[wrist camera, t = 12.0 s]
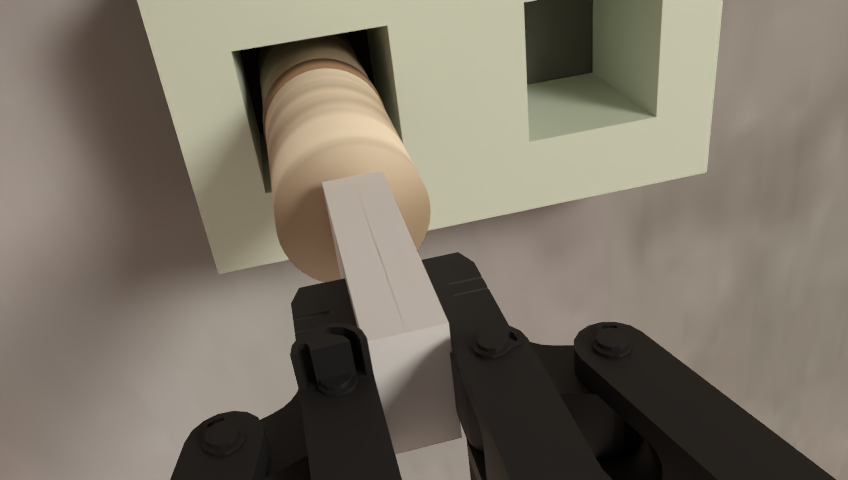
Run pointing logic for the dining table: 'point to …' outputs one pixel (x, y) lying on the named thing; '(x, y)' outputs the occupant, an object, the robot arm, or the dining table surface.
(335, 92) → the dowel
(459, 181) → the pale green holed block
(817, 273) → the dining table surface
